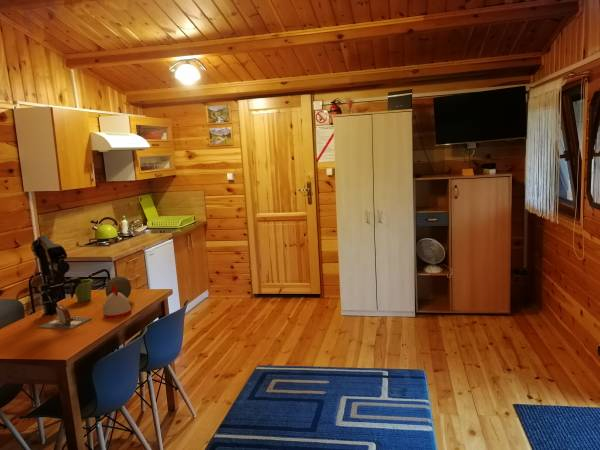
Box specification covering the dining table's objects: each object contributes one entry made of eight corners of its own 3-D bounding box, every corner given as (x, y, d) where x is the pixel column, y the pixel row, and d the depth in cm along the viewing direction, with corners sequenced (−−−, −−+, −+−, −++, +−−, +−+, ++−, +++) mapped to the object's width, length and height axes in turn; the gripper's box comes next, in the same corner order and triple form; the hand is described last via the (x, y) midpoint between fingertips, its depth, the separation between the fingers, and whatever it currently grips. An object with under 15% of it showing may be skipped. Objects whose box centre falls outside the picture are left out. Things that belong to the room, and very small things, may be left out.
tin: (72, 324, 232) (69, 308, 231) (65, 326, 230) (63, 310, 229) (63, 318, 243) (60, 302, 242) (56, 320, 241) (54, 304, 240)
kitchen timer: (126, 307, 256) (123, 281, 254) (135, 313, 246) (131, 285, 243) (100, 314, 248) (96, 287, 246) (108, 320, 237) (104, 291, 235)
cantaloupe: (101, 305, 264) (98, 279, 261) (122, 297, 276) (119, 273, 273) (117, 308, 256) (114, 281, 254) (138, 300, 268) (135, 275, 266)
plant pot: (95, 295, 284) (92, 277, 282) (95, 301, 273) (92, 282, 271) (73, 299, 279) (70, 281, 278) (72, 304, 268) (70, 285, 267)
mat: (38, 327, 233) (38, 326, 233) (59, 318, 246) (59, 316, 246) (71, 329, 227) (71, 328, 227) (91, 319, 241) (91, 318, 241)
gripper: (72, 264, 245) (76, 293, 248) (32, 272, 233) (37, 302, 235) (79, 267, 237) (83, 296, 240) (38, 275, 225) (43, 306, 227)
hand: (62, 300), depth 236 cm, fingers open, 9 cm apart
